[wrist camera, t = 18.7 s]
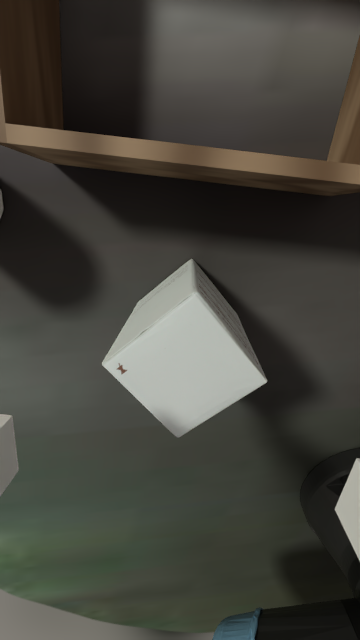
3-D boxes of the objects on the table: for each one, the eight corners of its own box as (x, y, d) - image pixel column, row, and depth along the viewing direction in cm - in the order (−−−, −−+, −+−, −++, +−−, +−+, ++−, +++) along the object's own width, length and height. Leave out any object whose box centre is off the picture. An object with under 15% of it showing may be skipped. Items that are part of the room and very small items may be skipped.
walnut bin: (408, -90, 18) (560, -305, 11) (329, 196, 24) (390, 188, 17) (39, -133, 18) (-69, -377, 11) (53, 163, 24) (-10, 141, 17)
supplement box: (182, 353, 30) (174, 443, 18) (136, 301, 28) (95, 364, 16) (238, 313, 28) (271, 385, 16) (193, 255, 26) (194, 288, 15)
